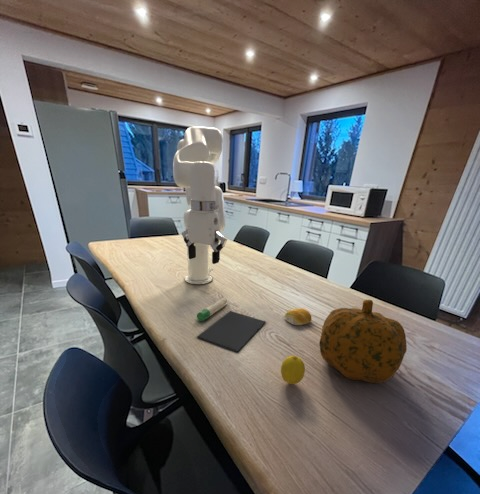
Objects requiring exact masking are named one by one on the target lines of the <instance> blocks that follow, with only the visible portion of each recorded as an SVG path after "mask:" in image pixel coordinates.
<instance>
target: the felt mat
mask: <svg viewBox="0 0 480 494" xmlns="http://www.w3.org/2000/svg"><path fill="white" fill-rule="evenodd" d="M265 324H266V321H265V320H262V319H258V318H256V317H252V316H248V315H245V314H242V313H238V312H235V311H232V310H230V311H228V312H227V313H226V314H224V315H223V316H222V317H220V318H219V319H218V320H217V321H216V322H214V323H213V324H211V325H210V326H209V327H208V328H207V329H204V330H203V332H201V333H200V334H199V335H197V338H198V339H200V340H202V341H205V342H209V343H211V344H214V345H216V346H219V347H222V348H224V349H227V350H230V351H233V352H236V353H238V352H240V351H241V350H242V349H243V347H244V346H245V345H247V343H248V342H249V341H250V340H251V339H252V338H253V337H254V335H255V334H256V333H258V331H259V330H260V329H262V327H263V326H264V325H265Z"/></svg>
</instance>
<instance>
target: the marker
mask: <svg viewBox="0 0 480 494" xmlns="http://www.w3.org/2000/svg"><path fill="white" fill-rule="evenodd" d="M228 304H229V303H228V299H227V298H226V297H221V298H219V299H218V300H216V301H215V302H213V303H212V304H211V305H209V306H207V307H205V308H204V309H202V310H200V311H199V312H198V313H196V318H197V320H198V321H199V322H204V321H205V320H207V319H208V318H210V317H211V316H212V315H214V314H215V313H216V312H218V311H219V310H221V309H223V308H224V307H225V306H226V305H228Z"/></svg>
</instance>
